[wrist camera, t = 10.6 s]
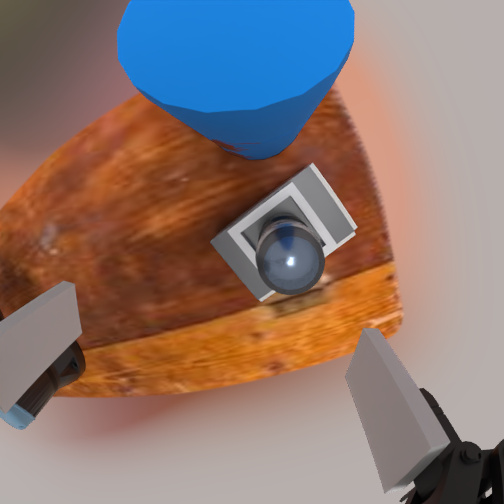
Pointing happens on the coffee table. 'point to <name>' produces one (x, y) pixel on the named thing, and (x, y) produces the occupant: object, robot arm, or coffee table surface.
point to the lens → (289, 255)
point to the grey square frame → (292, 202)
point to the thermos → (237, 64)
